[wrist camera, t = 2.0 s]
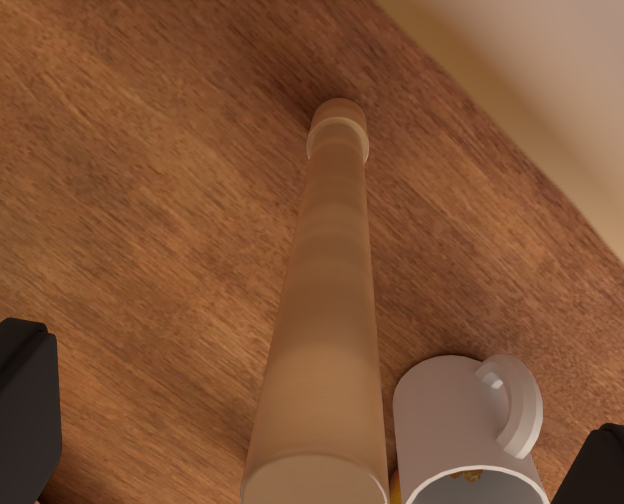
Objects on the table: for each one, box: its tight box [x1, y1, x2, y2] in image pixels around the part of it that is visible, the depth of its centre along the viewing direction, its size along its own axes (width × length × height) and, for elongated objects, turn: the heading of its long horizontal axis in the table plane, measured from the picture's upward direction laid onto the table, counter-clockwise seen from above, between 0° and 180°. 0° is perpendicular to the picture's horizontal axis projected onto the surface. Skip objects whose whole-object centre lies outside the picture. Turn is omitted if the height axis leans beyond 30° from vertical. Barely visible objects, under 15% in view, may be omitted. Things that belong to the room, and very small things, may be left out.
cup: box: [393, 354, 549, 504], centre depth 30 cm, size 7×10×9 cm
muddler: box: [240, 98, 390, 504], centre depth 18 cm, size 3×3×22 cm
